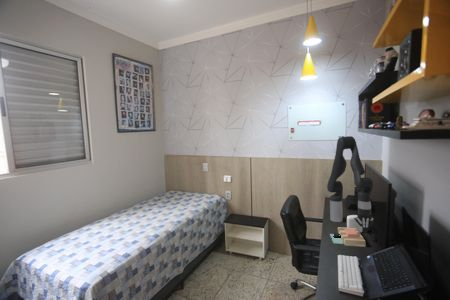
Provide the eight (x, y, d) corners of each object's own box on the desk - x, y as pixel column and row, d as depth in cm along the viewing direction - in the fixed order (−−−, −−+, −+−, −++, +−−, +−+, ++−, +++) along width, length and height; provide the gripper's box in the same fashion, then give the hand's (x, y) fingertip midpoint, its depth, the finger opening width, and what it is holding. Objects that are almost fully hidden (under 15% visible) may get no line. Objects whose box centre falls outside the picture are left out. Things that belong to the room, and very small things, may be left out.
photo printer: (360, 230, 168) (360, 214, 168) (363, 232, 164) (363, 216, 163) (346, 230, 170) (345, 214, 169) (348, 232, 166) (347, 216, 165)
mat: (329, 234, 165) (329, 233, 165) (338, 234, 163) (338, 234, 163) (333, 243, 152) (333, 243, 152) (343, 244, 150) (343, 243, 150)
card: (344, 231, 160) (344, 228, 160) (353, 231, 158) (353, 228, 158) (347, 236, 151) (347, 233, 151) (357, 237, 150) (357, 234, 150)
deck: (337, 232, 167) (337, 227, 167) (355, 233, 164) (355, 227, 164) (344, 245, 148) (344, 239, 148) (365, 246, 145) (365, 240, 145)
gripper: (373, 205, 153) (373, 230, 154) (351, 205, 157) (352, 229, 158) (377, 209, 146) (378, 235, 147) (355, 208, 149) (355, 234, 150)
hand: (364, 232), depth 152 cm, fingers closed
